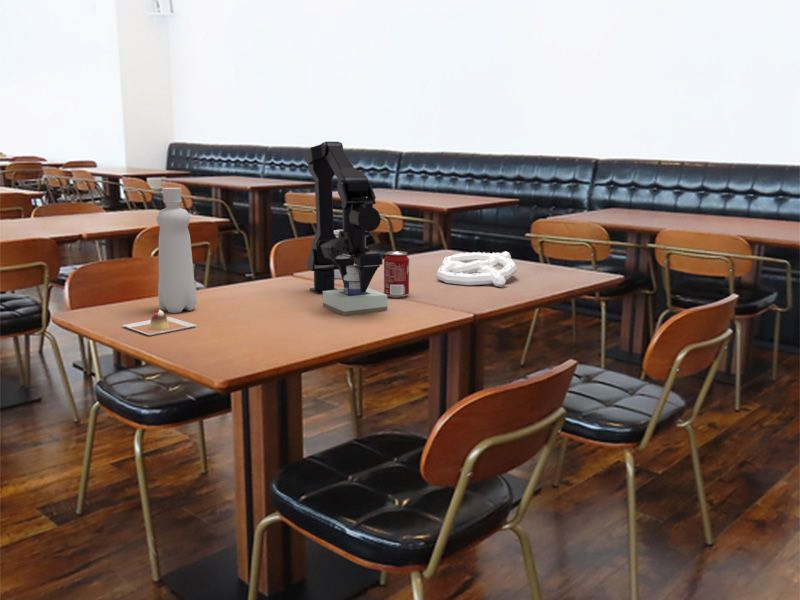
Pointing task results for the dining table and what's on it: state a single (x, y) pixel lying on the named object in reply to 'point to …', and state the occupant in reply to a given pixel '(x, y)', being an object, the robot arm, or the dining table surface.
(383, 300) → the bore block
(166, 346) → the dining table surface
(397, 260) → the soda can
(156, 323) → the dessert
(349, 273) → the pill bottle
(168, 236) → the bottle
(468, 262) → the white coiled rope knot
